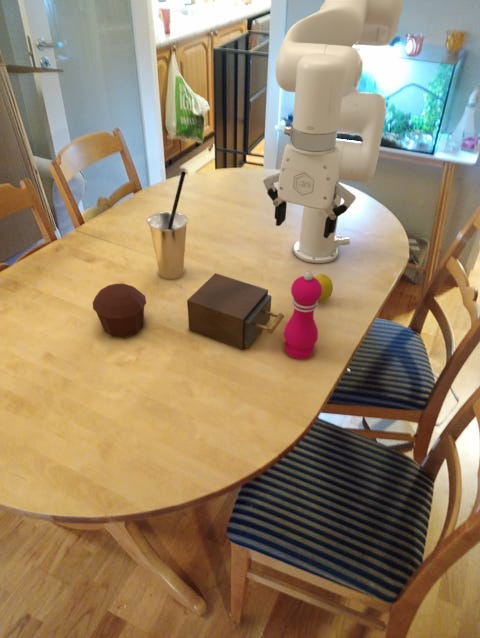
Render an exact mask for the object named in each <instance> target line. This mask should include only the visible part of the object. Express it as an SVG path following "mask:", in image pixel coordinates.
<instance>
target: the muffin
mask: <svg viewBox="0 0 480 638" xmlns="http://www.w3.org/2000/svg"><path fill="white" fill-rule="evenodd" d="M146 305H147V299H146V295H145V294H144V293H143V292H141V291H140V290H138V289H137V288H136V287H135V286H133V285H129V284H127V283H113V284H108V285H106V286H105V287H103V288H101V289H100V290H99V291H98V292H97V294H96V295H95V297H94V299H93V301H92V310H93V311H94V312H95V313H96V315H97V317H98V319H99V322H100V324H101V326H102V328H103V331H104V332H105V333H106V334H108V335H109V336H111V338H121V339H126V338H128V337H131V336H135V335H137V334H138V333H139V332H140V331H141V330H142V329H143V328H144V318H145V317H144V316H145V306H146Z"/></svg>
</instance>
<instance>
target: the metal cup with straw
mask: <svg viewBox="0 0 480 638" xmlns="http://www.w3.org/2000/svg"><path fill="white" fill-rule="evenodd" d="M185 177H186V172H185V171H181V173H180V178H179V181H178V185H177V188H176V193H175V197H174V201H173V206H172V209H171V210H164V211H158V212H155V213H153V214H151V215H150V216H148V217H147V219H146V224H147V225H148V227H149V230H150V235H151V240H152V244H153V249H154V254H155V258H156V262H157V268H158V273H159V276H160V277H161V278H163V279H166V280H176V279H179V278H181V277H182V276H183V275H184V272H185V271H184V268H185V252H186V240H187V239H186V237H187V225H188V224H189V218H188V216H187V215H186V214H184V213H182V212H179V211H177V209H178V205H179V200H180V197H181V193H182V189H183V186H184V181H185Z"/></svg>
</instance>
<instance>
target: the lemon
mask: <svg viewBox="0 0 480 638" xmlns="http://www.w3.org/2000/svg"><path fill="white" fill-rule="evenodd" d="M313 277H314V278H316V279H317V280H318V281H319V282H320V284H321V287H322V294H321V297H320V298H319V299H318V303H322V302H323V303H324V302H326V301H328V300H329V299H330V298H331V296H332V294H333V289H334V285H333V280H332V278H331V277H330V276H329V275H327V274H325V273H320V274H316V275H315V276H313Z"/></svg>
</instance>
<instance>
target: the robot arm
mask: <svg viewBox="0 0 480 638" xmlns="http://www.w3.org/2000/svg"><path fill="white" fill-rule="evenodd" d="M403 3H404V1H403V0H324V2H323V3H322V5H321V6H320V8H319V10H318V11H316V12H314V13H312V14H310V15H308V16H305V17H304V18H302V19H300V20H298V21H297V22H295V23H294V24H293V25H291V27H290V28H289V29H288V30H287V32H286V33H285V36H284V39H283V41H282V43H281V46H280V48H279V50H278V55H277V58H276V62H275V79H276V83H277V85H278V86H279V88H281V89H282V91H284V92H288V93H294V101H293V102H294V103H293V115H292V125H290V126H288V125H286V126H285V127H284V132H283V133H284V135H287V136H288V137H289V141H288V142H287V143H286V144H285V147H284V150H283V153H282V154H283V155H282V158H281V165H280V169H279V172H278V173H275V174H272V175H269V176H266V177H265V178H264V179H263V180H262V182H263V184H264V187H265V190H266V191H267V192H266V193H267V195H268V197H269V198H270V200H271V201H272V204H273V206H274V219H275V226H276V227H279V226H281V225H282V224H283V223H284V222H285V221H286V219H287V218H286V216H287V206H288V203H290V204H293V205H298V206H302V207H303V208H302V216H301V217H302V218H301V227H300V235H299V240H298V241H296V242H295V243H294V245H293V251H292V252H293V253H294V255H295V256H296V257H297V258H299V259H300V260H302V261H304V262H307V263H311V264H326V263H329V262H332V261H334V260H335V259H337V257H338V254H339V247H341V246H347V245H350V243H351V240H350V238H349V237H342V235H341V234H338V235H336V233H337V232H336V231H337V226H338V220H339V216H342V215H343V214H344V213H346V212H347V211H348V210H349V208H350V207H351V206H352V204H354V202H355V201H356V199H357V197H356V195H355V194H353V193H352V192H351V191H349V190H348V189H347V188H346V187H344V186H343V185H342V184H341V183H339V181H342V182H352V183H359V184H361V183H362V184H365V183H368V182H370V181H371V180H372V179H373V178H374V175H375V172H376V169H377V165H378V159H379V156H380V155H379V154H380V149H381V143H382V139H383V133H384V127H385V121H386V115H387V103H386V99H385V98H384V96H383V95H381V94H379V93H376V92H365V91H359V83H360V82H361V77H362V73H363V66H364V65H363V60H362V58H361V57H362V56H361V54H360V52H359V51H358V50H357V49H356V48H354V47H355V46H361V47H362V46H364V47H375V48H376V47H377V48H379V47H380V48H382V47H387V46H389V45H390V44H392V42H393V41H394V39H395V37H396V35H397V32H398V30H399V29H398V28H399V24H400V20H401V15H402V11H403V10H402V9H403ZM338 134H343V135H353V136H358V137H360V138H361V139H362V141H357V140H349V139H348V140H347V139H341V138H338ZM275 183H277V187H276V186H275ZM342 199H343V203H342V204H341V202H342Z"/></svg>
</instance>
